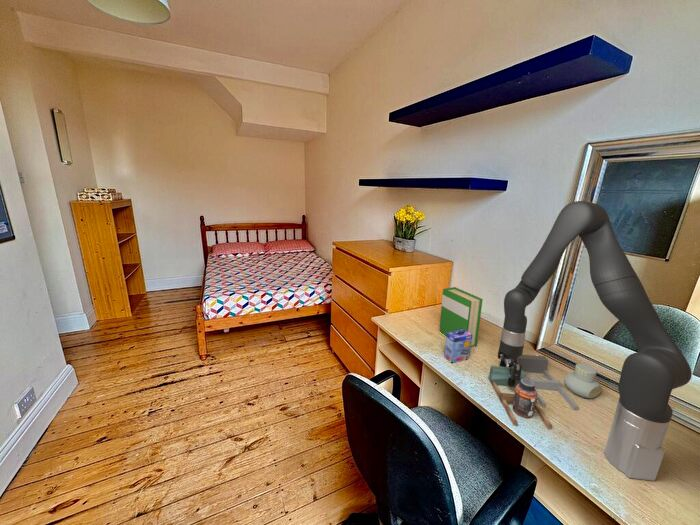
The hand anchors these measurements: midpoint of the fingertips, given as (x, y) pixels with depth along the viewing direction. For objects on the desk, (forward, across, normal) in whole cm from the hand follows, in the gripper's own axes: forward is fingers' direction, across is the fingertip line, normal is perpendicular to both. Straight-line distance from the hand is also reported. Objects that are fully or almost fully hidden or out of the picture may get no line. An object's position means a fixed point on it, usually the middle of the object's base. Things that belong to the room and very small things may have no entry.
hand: (506, 378), depth 106 cm
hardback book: (+2, +32, +10) cm, 34 cm away
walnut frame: (+2, -9, 0) cm, 10 cm away
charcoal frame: (+2, 0, -13) cm, 13 cm away
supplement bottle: (+2, -14, 0) cm, 14 cm away
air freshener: (+2, -1, -26) cm, 26 cm away
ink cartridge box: (+2, +15, +14) cm, 21 cm away
